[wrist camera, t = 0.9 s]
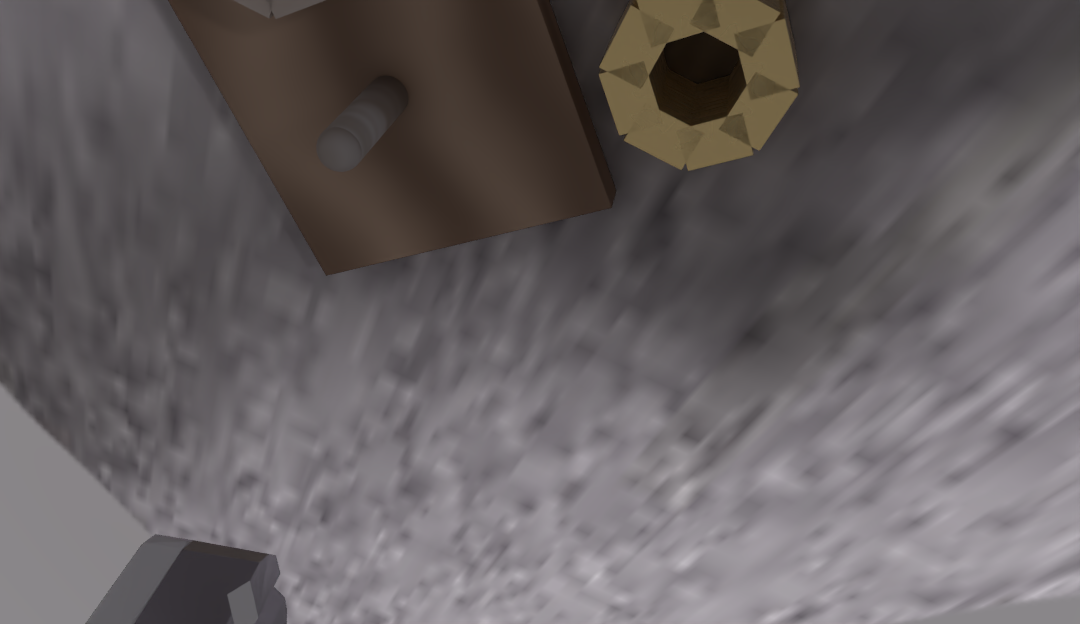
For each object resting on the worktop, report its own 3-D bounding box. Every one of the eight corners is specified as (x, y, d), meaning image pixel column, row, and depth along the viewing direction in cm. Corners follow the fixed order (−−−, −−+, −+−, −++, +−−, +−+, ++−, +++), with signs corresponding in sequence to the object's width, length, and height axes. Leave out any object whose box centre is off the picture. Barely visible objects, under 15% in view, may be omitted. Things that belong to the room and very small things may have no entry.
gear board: (415, -379, 26) (317, -401, 20) (616, 190, 36) (589, 286, 30) (83, -198, 31) (-71, -174, 25) (338, 258, 41) (269, 351, 35)
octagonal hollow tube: (769, -73, 29) (771, -44, 26) (806, 96, 32) (811, 140, 29) (597, -15, 31) (579, 18, 28) (646, 138, 34) (635, 183, 31)
